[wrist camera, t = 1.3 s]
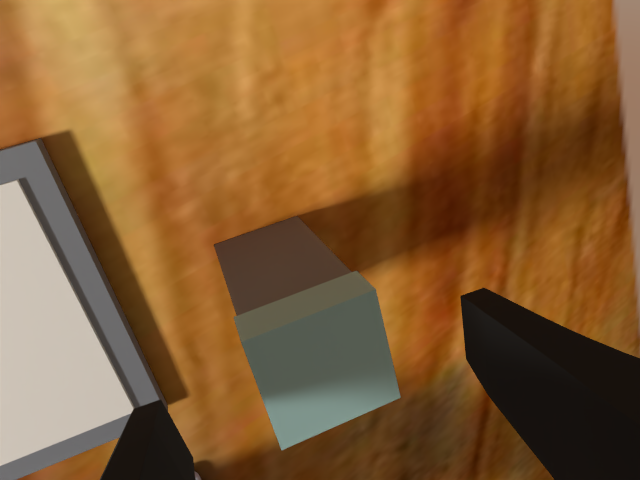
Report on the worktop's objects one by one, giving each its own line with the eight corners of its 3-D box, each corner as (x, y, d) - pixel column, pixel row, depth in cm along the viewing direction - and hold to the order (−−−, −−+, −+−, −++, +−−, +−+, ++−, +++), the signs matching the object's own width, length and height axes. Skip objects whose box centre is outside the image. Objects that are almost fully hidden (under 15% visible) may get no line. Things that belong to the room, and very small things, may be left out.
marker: (320, 290, 22) (400, 397, 15) (239, 321, 21) (281, 450, 14) (298, 212, 20) (375, 289, 13) (210, 243, 20) (241, 341, 12)
